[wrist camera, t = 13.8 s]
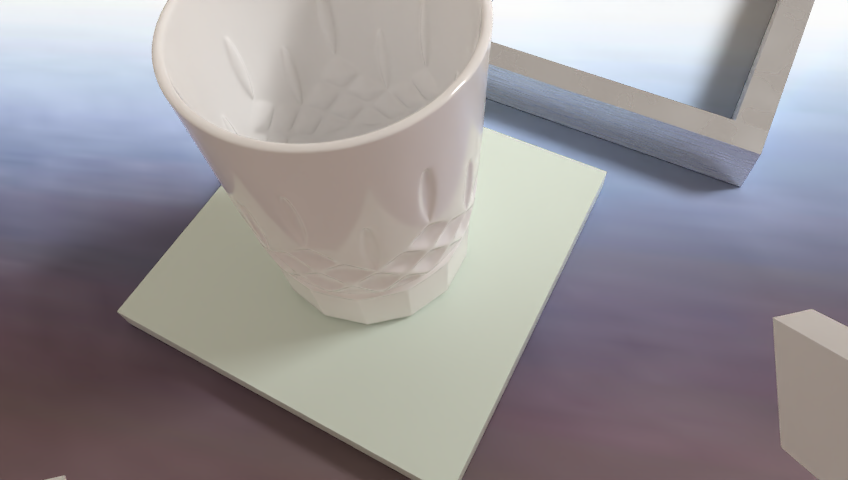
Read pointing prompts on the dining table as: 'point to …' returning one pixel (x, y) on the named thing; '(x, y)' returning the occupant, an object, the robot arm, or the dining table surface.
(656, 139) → the square frame
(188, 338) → the sage tile
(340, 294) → the white cup
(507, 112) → the dining table surface
